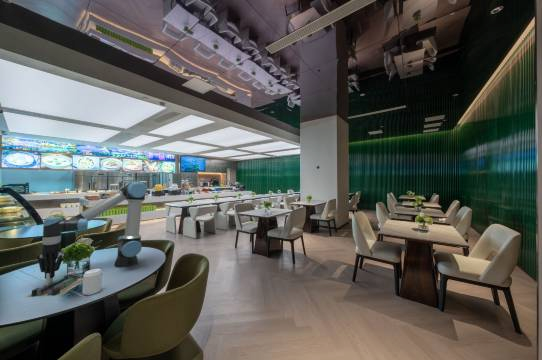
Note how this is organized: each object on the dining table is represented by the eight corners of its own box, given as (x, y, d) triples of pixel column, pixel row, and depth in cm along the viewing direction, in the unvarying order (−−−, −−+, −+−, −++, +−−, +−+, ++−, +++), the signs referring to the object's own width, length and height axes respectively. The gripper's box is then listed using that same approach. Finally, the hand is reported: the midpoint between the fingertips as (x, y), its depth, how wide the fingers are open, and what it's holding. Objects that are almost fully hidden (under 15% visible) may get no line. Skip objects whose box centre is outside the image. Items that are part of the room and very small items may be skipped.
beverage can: (90, 289, 120) (91, 268, 120) (104, 288, 121) (105, 268, 121) (78, 296, 112) (79, 274, 112) (93, 295, 112) (94, 273, 113)
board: (88, 279, 132) (88, 277, 132) (61, 296, 111) (62, 294, 111) (58, 281, 129) (58, 279, 129) (24, 299, 108) (25, 297, 108)
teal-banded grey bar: (82, 278, 130) (83, 273, 131) (55, 295, 110) (55, 289, 111) (70, 279, 129) (71, 274, 129) (40, 296, 109) (41, 290, 109)
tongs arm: (76, 278, 130) (76, 272, 130) (43, 295, 109) (44, 288, 110) (66, 279, 129) (66, 272, 130) (31, 296, 109) (31, 288, 109)
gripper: (69, 241, 126) (67, 280, 125) (44, 242, 124) (41, 281, 122) (59, 244, 119) (56, 285, 118) (32, 245, 116) (29, 287, 115)
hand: (49, 283), depth 120 cm, fingers closed
